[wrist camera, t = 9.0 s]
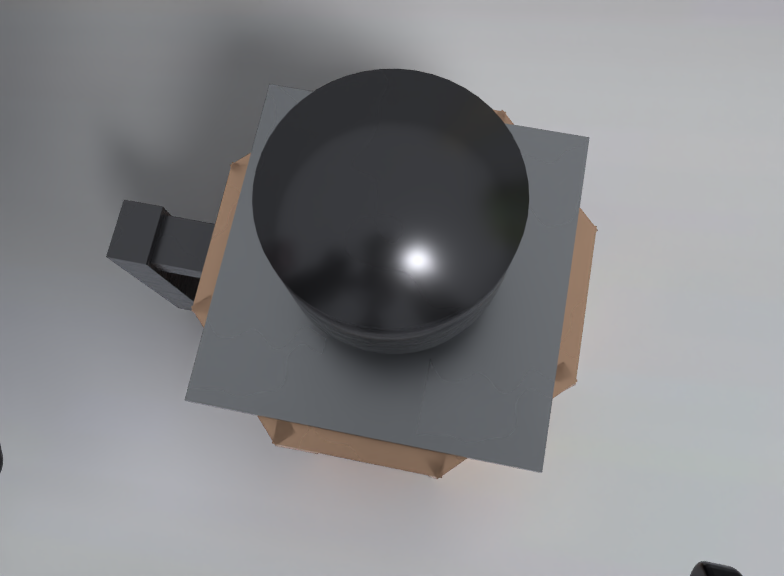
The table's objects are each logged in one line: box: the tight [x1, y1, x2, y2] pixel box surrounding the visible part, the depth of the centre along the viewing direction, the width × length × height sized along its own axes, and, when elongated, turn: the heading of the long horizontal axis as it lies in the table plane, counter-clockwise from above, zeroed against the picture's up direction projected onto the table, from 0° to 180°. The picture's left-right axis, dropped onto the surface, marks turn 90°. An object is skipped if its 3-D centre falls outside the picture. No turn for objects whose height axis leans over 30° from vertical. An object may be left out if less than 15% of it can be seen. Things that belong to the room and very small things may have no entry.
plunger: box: [252, 69, 529, 354], centre depth 13 cm, size 5×5×8 cm
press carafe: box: [106, 84, 598, 479], centre depth 15 cm, size 7×9×6 cm
